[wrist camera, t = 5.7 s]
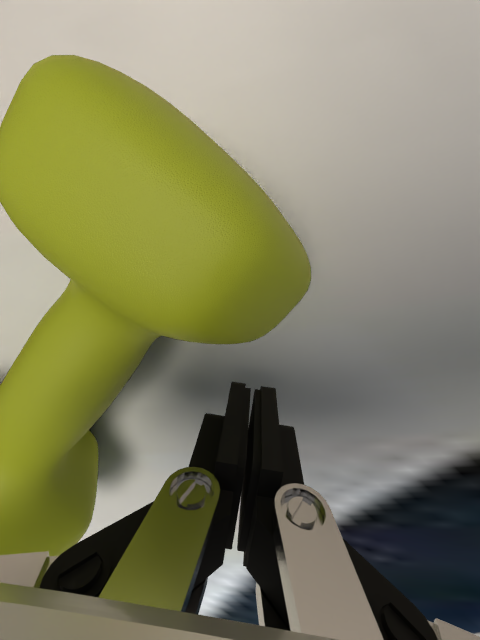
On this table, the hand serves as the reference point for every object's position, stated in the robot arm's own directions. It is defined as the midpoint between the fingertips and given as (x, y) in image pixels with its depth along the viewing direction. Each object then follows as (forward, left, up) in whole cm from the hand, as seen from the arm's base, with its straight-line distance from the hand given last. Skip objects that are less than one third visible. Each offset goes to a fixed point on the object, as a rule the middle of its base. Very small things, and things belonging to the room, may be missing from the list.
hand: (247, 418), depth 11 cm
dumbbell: (+6, -1, -3) cm, 7 cm away
